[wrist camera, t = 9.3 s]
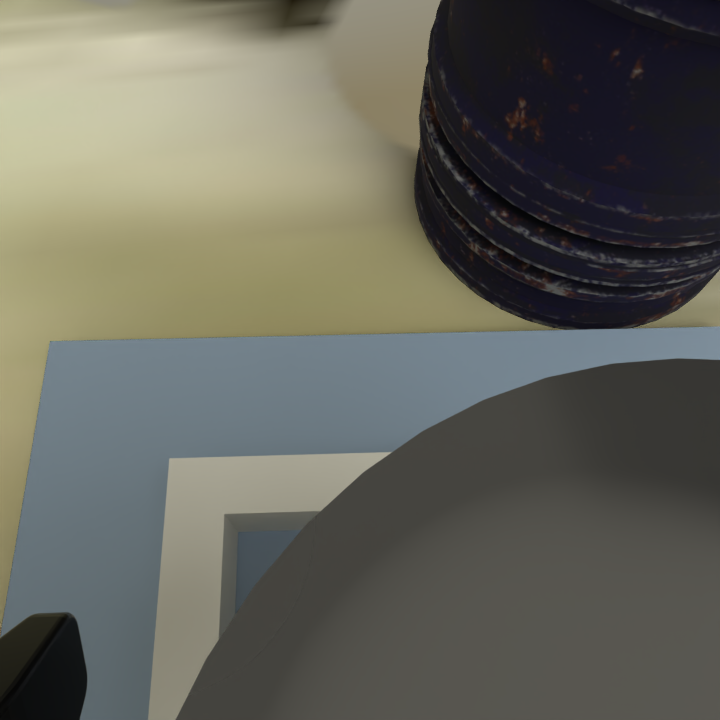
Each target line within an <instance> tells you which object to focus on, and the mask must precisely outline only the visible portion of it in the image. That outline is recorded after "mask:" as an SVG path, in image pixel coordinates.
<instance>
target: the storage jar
mask: <svg viewBox="0 0 720 720" xmlns="http://www.w3.org/2000/svg"><path fill="white" fill-rule="evenodd" d="M419 124H420V148H419V151H418V157H417V164H416V171H415V178H414V190H415V203H416V207H417V211H418V215H419V219H420V222H421V225H422V227H423V229H424V231H425V234H426V236H427V238H428V240H429V242H430V244H431V245H432V247H433V248H434V250H435V251H436V253H437V254H438V256H439V257H440V259H441V260H442V262H443V263H444V264H445V265H446V266H447V267H448V268H449V269H450V270H451V271H452V273H453V274H454V275H455V276H456V277H457V278H458V279H459V280H460V281H461V282H463V283H464V284H465V285H466V286H468V287H469V288H470V289H471V290H473V291H474V292H475V293H476V294H477V295H479V296H480V297H482V298H484V299H485V300H487V301H489V302H490V303H492V304H494V305H495V306H497V307H499V308H500V309H502V310H504V311H507V312H509V313H511V314H514V315H516V316H518V317H521V318H523V319H525V320H528V321H532V322H535V323H539V324H542V325H546V326H549V327H553V328H560V329H567V330H589V329H628V328H633V327H637V326H640V325H643V324H647V323H650V322H653V321H656V320H658V319H660V318H662V317H664V316H666V315H668V314H670V313H672V312H674V311H676V310H678V309H679V308H681V307H682V306H683V305H685V304H686V303H687V302H689V301H690V300H691V299H693V298H694V297H695V296H696V295H697V294H698V293H699V292H700V291H701V290H702V289H703V288H704V287H705V286H706V284H707V283H708V282H709V281H710V280H711V279H712V278H713V277H714V276H715V274H716V273H717V272H718V271H719V270H720V0H441V2H440V5H439V7H438V10H437V14H436V19H435V22H434V25H433V27H432V30H431V34H430V41H429V49H428V64H427V67H426V72H425V80H424V86H423V93H422V100H421V107H420V114H419Z"/></svg>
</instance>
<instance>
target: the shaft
mask: <svg viewBox="0 0 720 720" xmlns="http://www.w3.org/2000/svg"><path fill="white" fill-rule="evenodd" d="M176 720H720V360H709V359H684V358H675V359H663V360H651V361H638V362H626V363H614V364H608V365H603V366H598V367H594V368H589V369H584V370H579V371H575V372H570V373H565V374H561V375H556V376H551V377H547V378H544V379H541V380H538V381H535V382H532V383H530V384H527V385H524V386H521V387H518V388H515V389H513V390H510V391H507V392H504V393H501V394H498V395H496V396H493V397H490V398H487V399H484V400H482V401H480V402H478V403H476V404H474V405H472V406H470V407H468V408H467V409H465V410H463V411H461V412H459V413H457V414H455V415H453V416H451V417H449V418H447V419H445V420H443V421H441V422H439V423H437V424H435V425H433V426H431V427H429V428H427V429H426V430H424V431H422V432H420V433H419V434H418V435H416V436H415V437H413V438H412V439H410V440H409V441H407V442H406V443H405V444H403V445H402V446H400V447H399V448H397V449H396V450H394V451H393V452H392V453H390V454H389V455H387V456H386V457H384V458H383V459H382V460H380V461H379V462H377V463H376V464H374V465H373V466H371V467H370V468H369V469H367V470H366V471H364V472H363V473H362V474H361V475H360V476H359V477H358V478H356V479H355V480H354V481H353V482H352V483H351V484H350V485H349V486H348V487H347V488H345V489H344V490H343V491H342V492H341V493H340V494H339V495H338V496H337V497H336V498H334V499H333V500H332V501H331V502H330V503H329V504H328V505H327V506H326V507H325V508H323V509H322V510H321V511H320V512H319V513H318V514H317V515H316V516H315V517H314V518H312V519H311V520H310V521H309V522H308V523H307V524H306V525H305V527H304V528H303V529H302V530H301V531H300V533H299V534H298V535H297V536H296V537H295V538H294V540H293V541H292V542H291V543H290V544H289V545H288V547H287V548H286V549H285V550H284V551H283V552H282V554H281V555H280V556H279V557H278V558H277V560H276V561H275V562H274V563H273V564H272V565H271V567H270V568H269V569H268V570H267V571H266V572H265V574H264V575H263V576H262V577H261V578H260V579H259V581H258V582H257V583H256V584H255V586H254V587H253V589H252V590H251V592H250V593H249V595H248V596H247V598H246V599H245V601H244V602H243V604H242V605H241V607H240V608H239V610H238V611H237V613H236V614H235V616H234V617H233V619H232V620H231V622H230V623H229V625H228V626H227V628H226V630H225V631H224V633H223V634H222V636H221V637H220V639H219V640H218V642H217V643H216V645H215V646H214V648H213V649H212V651H211V652H210V654H209V655H208V657H207V658H206V660H205V662H204V664H203V666H202V668H201V670H200V672H199V674H198V676H197V678H196V680H195V682H194V684H193V686H192V688H191V690H190V692H189V694H188V696H187V698H186V700H185V702H184V704H183V706H182V708H181V710H180V712H179V714H178V716H177V718H176Z"/></svg>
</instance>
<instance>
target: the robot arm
mask: <svg viewBox="0 0 720 720" xmlns="http://www.w3.org/2000/svg"><path fill="white" fill-rule="evenodd" d="M87 681H88V679H87V668H86V663H85V658H84V653H83V647H82V642H81V637H80V632H79V627H78V623H77V620H76V618H75V616H74V615H73V614H71V613H69V612H52V613H37V614H33V615H30V616H29V617H27V618H26V619H24V620H23V621H22V622H20V623H19V624H18V625H16V626H15V627H14V628H12V629H11V630H10V631H8V632H7V633H6V634H4V635H3V636H2V637H0V720H80V716H81V712H82V709H83V705H84V701H85V697H86V691H87Z"/></svg>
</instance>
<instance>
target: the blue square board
mask: <svg viewBox="0 0 720 720" xmlns="http://www.w3.org/2000/svg"><path fill="white" fill-rule="evenodd" d="M675 358H684V359H709V360H720V327H680V328H635V329H589V330H543V331H497V332H451V333H405V334H359V335H313V336H268V337H222V338H176V339H130V340H84V341H50V344H49V350H48V356H47V362H46V368H45V374H44V380H43V386H42V392H41V398H40V404H39V409H38V415H37V421H36V427H35V433H34V439H33V445H32V451H31V457H30V463H29V469H28V475H27V481H26V487H25V492H24V498H23V504H22V510H21V516H20V522H19V528H18V534H17V540H16V546H15V552H14V558H13V564H12V569H11V575H10V581H9V587H8V593H7V599H6V605H5V611H4V617H3V623H2V629H1V635H0V637H2V636H3V635H4V634H6V633H7V632H8V631H10V630H11V629H12V628H14V627H15V626H16V625H18V624H19V623H20V622H22V621H23V620H24V619H26V618H27V617H29V616H30V615H33V614H37V613H52V612H69V613H71V614H73V615H74V616H75V618H76V620H77V623H78V627H79V632H80V637H81V642H82V647H83V653H84V658H85V663H86V668H87V679H88V681H87V691H86V697H85V701H84V705H83V709H82V712H81V716H80V720H176V718H177V716H178V714H179V712H180V710H181V708H182V706H183V704H184V702H185V700H186V698H187V696H188V694H189V692H190V690H191V688H192V686H193V684H194V682H195V680H196V678H197V676H198V674H199V672H200V670H201V668H202V666H203V664H204V662H205V660H206V658H207V657H208V655H209V654H210V652H211V651H212V649H213V648H214V646H215V645H216V643H217V642H218V640H219V639H220V637H221V636H222V634H223V633H224V631H225V630H226V628H227V626H228V625H229V623H230V622H231V620H232V619H233V617H234V616H235V614H236V613H237V611H238V610H239V608H240V607H241V605H242V604H243V602H244V601H245V599H246V598H247V596H248V595H249V593H250V592H251V590H252V589H253V587H254V586H255V584H256V583H257V582H258V581H259V579H260V578H261V577H262V576H263V575H264V574H265V572H266V571H267V570H268V569H269V568H270V567H271V565H272V564H273V563H274V562H275V561H276V560H277V558H278V557H279V556H280V555H281V554H282V552H283V551H284V550H285V549H286V548H287V547H288V545H289V544H290V543H291V542H292V541H293V540H294V538H295V537H296V536H297V535H298V534H299V533H300V531H301V530H302V529H303V528H304V527H305V525H306V524H307V523H308V522H309V521H310V520H311V519H312V518H314V517H315V516H316V515H317V514H318V513H319V512H320V511H321V510H322V509H323V508H325V507H326V506H327V505H328V504H329V503H330V502H331V501H332V500H333V499H334V498H336V497H337V496H338V495H339V494H340V493H341V492H342V491H343V490H344V489H345V488H347V487H348V486H349V485H350V484H351V483H352V482H353V481H354V480H355V479H356V478H358V477H359V476H360V475H361V474H362V473H363V472H364V471H366V470H367V469H369V468H370V467H371V466H373V465H374V464H376V463H377V462H379V461H380V460H382V459H383V458H384V457H386V456H387V455H389V454H390V453H392V452H393V451H394V450H396V449H397V448H399V447H400V446H402V445H403V444H405V443H406V442H407V441H409V440H410V439H412V438H413V437H415V436H416V435H418V434H419V433H420V432H422V431H424V430H426V429H427V428H429V427H431V426H433V425H435V424H437V423H439V422H441V421H443V420H445V419H447V418H449V417H451V416H453V415H455V414H457V413H459V412H461V411H463V410H465V409H467V408H468V407H470V406H472V405H474V404H476V403H478V402H480V401H482V400H484V399H487V398H490V397H493V396H496V395H498V394H501V393H504V392H507V391H510V390H513V389H515V388H518V387H521V386H524V385H527V384H530V383H532V382H535V381H538V380H541V379H544V378H547V377H551V376H556V375H561V374H565V373H570V372H575V371H579V370H584V369H589V368H594V367H598V366H603V365H608V364H614V363H626V362H638V361H651V360H663V359H675Z"/></svg>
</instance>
